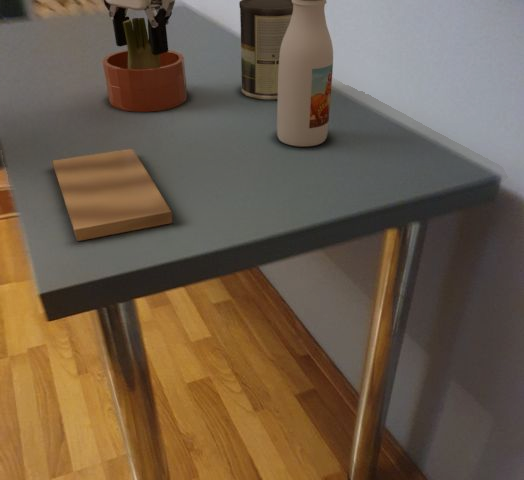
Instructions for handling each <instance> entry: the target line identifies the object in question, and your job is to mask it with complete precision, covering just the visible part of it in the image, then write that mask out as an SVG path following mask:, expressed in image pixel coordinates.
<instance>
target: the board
mask: <svg viewBox="0 0 524 480" xmlns="http://www.w3.org/2000/svg"><path fill="white" fill-rule="evenodd" d="M51 162H52V166H53V170H54V173H55V176H56V179H57V183H58V186H59V189H60V192H61V195H62V198H63V202H64V204H65V208H66V211H67V214H68V217H69V220H70V224H71V227H72V229H73V233H74V236H75V239H76V241H77V242H81V241H85V240H91V239H96V238H102V237H107V236H111V235H117V234H123V233H127V232H133V231H137V230H142V229H148V228H149V229H150V228H154V227H158V226H164V225H169V224H173V223H174V222H173V213H172V210H171V208H170V207H169V205H168V203H167V202H166V200H165V199H164V197H163V196H162V194H161V192H160V190H159V188H158V187H157V185H156V184H155V183H154V181H153V179H152V178H151V175H150V174H149V172H148V171H147V170H146V168H145V165H143V163H142V161H141V160H140V158H139V156H138V155H137V153H136V151H135V150H134V148H127V149H121V150H114V151H107V152H100V153H95V154H87V155H81V156H73V157H68V158H60V159H54V160H51Z"/></svg>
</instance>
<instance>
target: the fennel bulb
mask: <svg viewBox="0 0 524 480" xmlns="http://www.w3.org/2000/svg"><path fill="white" fill-rule="evenodd" d="M123 26H124V31H125V35H126V41H127V45H126V47H127V50H128V69H147V68H157V67H161V62H160V57H159V54H158V55H153V54H152V51H151V42H150V34H149V27H152V25H151V23H150V21H149V19H148V18H147V24H146V18H145V17H133V18H131V19H130V20H127V21H124V22H123Z"/></svg>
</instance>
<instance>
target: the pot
mask: <svg viewBox="0 0 524 480" xmlns="http://www.w3.org/2000/svg"><path fill="white" fill-rule="evenodd" d="M159 57H160V62H161V67H157V68H147V69H128V49H126V50H120V51H116V52H112V53H109V54H108V55H106V56H104V58H103V59H102V67H103V73H104V78H105V83H106V90H107V95H108V101H109V103H110V105H111V106H113V107H114V108H116V109H119V110H122V111H126V112H127V111H128V112H135V113H137V112H139V113H148V112H149V113H150V112H160V111H165V110H169V109H173V108H176V107H179V106H180V105H182V104H184V103H186V101H187V98H188V87H187V77H186V65H185V57H184V56H183V54H181V53H180V52H178V51H174V50H171V49H170V50H169V49H168V52H166V53H162V54H159Z"/></svg>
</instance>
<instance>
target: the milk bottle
mask: <svg viewBox="0 0 524 480" xmlns="http://www.w3.org/2000/svg"><path fill="white" fill-rule="evenodd" d="M292 3H293V13H292V17H291V20H290V23H289V26H288V28H287V31H286V33H285V35H284V38H283V41H282V44H281V48H280V55H279V70H278V99H277V104H276V105H277V106H276V107H277V108H276V136H277V138H278V140H279V142H282V143H283V144H286V145H288V146H293V147H314V146H318V145H320V144H323V143H324V142H325V141H326V140H327V137H328V133H329V132H328V131H329V120H330V108H331V98H332V84H333V83H332V82H333V69H334V49H333V48H334V47H333V42H332V38H331V34H330V32H329V29H328V25H327V20H326V14H325V6H326V4H327V3H328V2H327V0H292Z"/></svg>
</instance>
